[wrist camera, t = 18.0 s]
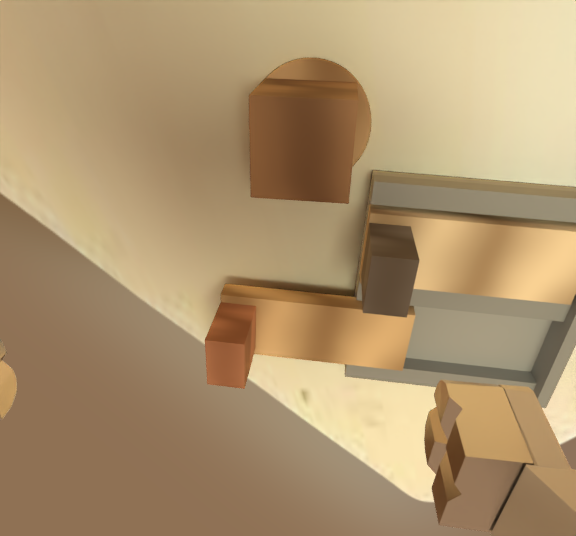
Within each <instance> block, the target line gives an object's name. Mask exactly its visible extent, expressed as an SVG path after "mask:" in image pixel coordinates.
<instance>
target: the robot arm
mask: <svg viewBox="0 0 576 536" xmlns="http://www.w3.org/2000/svg"><path fill="white" fill-rule="evenodd" d="M5 354H6V350H5V348H4V345H3V343H2V341H1V339H0V420H1V419H3V417H4V416H5V415H6V413H7V412H8V410H9V409H10V408H11V406H12V403H13V400H14V397H15V395H16V392H17V380H16V377H15V374H14V371H13V369H12V368H10V367H9V366H8V365H7V364H6V363H5V362H3V361H2V360H3V358H4V356H5ZM434 397H435V402H436V406H437V407H435V408H434V409H432V410H431V411H429V413H428V417H427V421H426V425H425V438H424V441H425V453H426V459H427V465H428V466H429V467H430V468H431V469H432V470H433V471H434V473H435V474H436V476H435V479H434V482H433V485H432V492H433V497H434V502H435V508H436V513H437V518H438V523H439V525H442V526H449V527H456V528H464V529H470V530H477V531H484V532H491V534H490V536H576V470H574V469H571V467H570V465H569V463H568V461H567V459H566V457H565V455H564V453H563V451H562V449H561V447H560V445H559V443H558V440H557V438H556V436H555V434H554V432H553V430H552V428H551V426H550V424H549V422H548V420H547V418H546V416H545V414H544V412H543V410H542V407H541V405H540V403H539V401H538V399H537V397H536V395H535V393H534V391H533V390H531V389H530V388H529V387H523V386H511V385H500V384H499V385H496V384H486V383H475V382H464V381H452V380H440V381H439V383H438V384H437V387H436V390H435V393H434Z"/></svg>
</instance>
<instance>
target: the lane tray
mask: <svg viewBox="0 0 576 536" xmlns="http://www.w3.org/2000/svg"><path fill="white" fill-rule="evenodd" d="M370 204H372V205H384V206H395V207H406V208H417V209H428V210H440V211H451V212H462V213H473V214H484V215H495V216H507V217H518V218H529V219H540V220H551V221H563V222H574V223H576V187H568V186H556V185H544V184H532V183H520V182H508V181H497V180H485V179H473V178H461V177H449V176H437V175H425V174H413V173H401V172H390V171H378V170H373V172H372V179H371V186H370V192H369V199H368V206H367V213H366V220H365V226H364V233H363V240H362V247H361V254H360V260H359V267H358V274H357V281H356V288H355V294H354V297H356V300H360V301H362V285H361V283H360V273H359V272H360V265H361V258H362V252H363V245H364V238H365V231H366V225H367V218H368V211H369V205H370ZM410 306H414V310H415V315H416V316H415V320H414V324H413V328H412V333H411V337H410V341H409V345H408V350H407V354H406V358H405V362H404V367H403V371H399V370H390V369H382V368H373V367H364V366H356V365H347V364H345V376H346V377H354V378H363V379H371V380H380V381H388V382H397V383H406V384H414V385H423V386H431V387H437V384H438V383H439V381H440V380H452V381H464V382H475V383H486V384H496V385H499V384H500V385H511V386H523V387H529V388H530V389H531V390H533V391H534V393H535V395H536V397H537V399H538V401H539V403H540V405H541V407H542V408H546V407H547V405H548V403H549V401H550V398H551V396H552V394H553V392H554V390H555V388H556V386H557V384H558V381H559V379H560V377H561V375H562V373H563V371H564V369H565V367H566V365H567V362H568V360H569V358H570V356H571V354H572V352H573V350H574V348H575V345H576V294H575V296H574V299H573V301H572V303H571V305H568V304H558V303H548V302H539V301H529V300H519V299H509V298H499V297H490V296H480V295H470V294H460V293H450V292H440V291H431V290H421V289H413V292H412V297H411V301H410Z"/></svg>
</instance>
